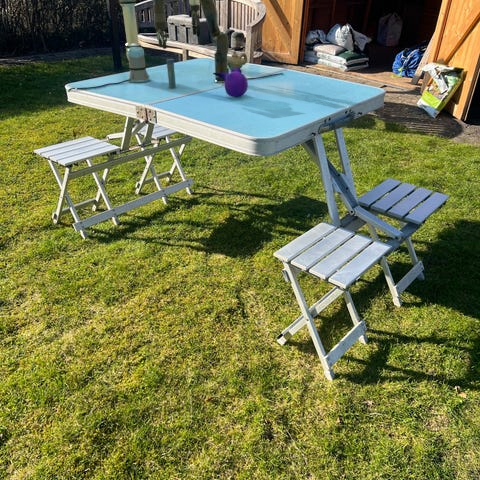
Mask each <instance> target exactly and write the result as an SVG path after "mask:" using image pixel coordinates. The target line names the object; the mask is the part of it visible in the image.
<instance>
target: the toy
mask: <svg viewBox="0 0 480 480" xmlns="http://www.w3.org/2000/svg"><path fill="white" fill-rule="evenodd" d="M212 74H213V75H214V76H215V75H216V76H218V77H220V78H221V79H223V80H225V83H224V89H225V92H226V94H227V95H228V96H230V97H231V98H236V99H237V98H238V99H239V98H241V97H243V96H244V95H245V94H246V92H247V91H248V88H249V83H248V82H249V81H248V79H246V78H247V76H245V74H244V73H243V72H242V68H235V69H232V70H230V72H229V73H215V72H213V73H212Z"/></svg>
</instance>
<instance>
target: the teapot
mask: <svg viewBox="0 0 480 480" xmlns="http://www.w3.org/2000/svg"><path fill="white" fill-rule="evenodd" d="M242 58H243V60H242ZM247 63H248V56H247V53H246V52H242V53H240V54H238V53H237V52H236V50H233V53H232V54H231V57H227V64H228V68H229V71H231V70H232V69H235V68H240V69H242V68H243V66H244V65H246V64H247Z"/></svg>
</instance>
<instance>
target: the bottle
mask: <svg viewBox="0 0 480 480" xmlns="http://www.w3.org/2000/svg"><path fill="white" fill-rule="evenodd" d="M166 69H167V80H168V88H169V89H175V88H177V83H176V72H175V62H174V63H166Z"/></svg>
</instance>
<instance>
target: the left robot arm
mask: <svg viewBox="0 0 480 480" xmlns="http://www.w3.org/2000/svg"><path fill="white" fill-rule="evenodd" d="M188 1H189V11H191V26H192V35H194V36H195V35H196V37H201V20H200V13H199V11H201V3H200V1H199V0H188ZM119 5H120V6H121V8H122V13H123V22H124V29H125V35H126V36H125V38H126V43H125V56H126V59H127V60H128V66H129V76H128V79H125V80H122V81H118V82H110V83H105V84H101V85H95V86H87V87H71V88H70V87H69V89H67V92H68V93H69V92H70V91H72V90H91V89H97V88H103V87H106V86H110V85H111V86H112V85H120V84H123V83H126V82H129V83H133V84H141V83H148V82H150V75H149V74H148V71H147V67H146V59H145V50H144V48H143V47H142V43H140V42H139V41H140V40H139V34H138V25H137V17H136V8H135V6H136V5H137V0H119ZM75 88H77V89H75ZM72 133H73V139H75V140H76V139H77V138H76V132H75V129H72Z"/></svg>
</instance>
